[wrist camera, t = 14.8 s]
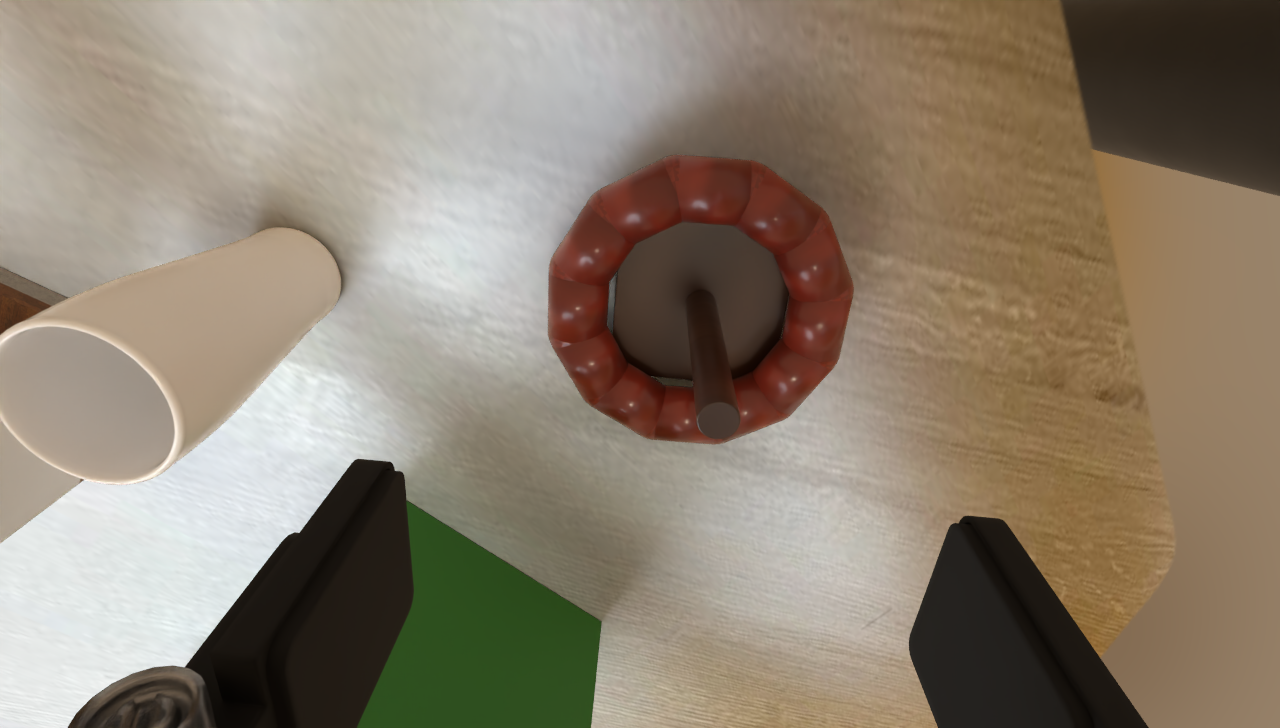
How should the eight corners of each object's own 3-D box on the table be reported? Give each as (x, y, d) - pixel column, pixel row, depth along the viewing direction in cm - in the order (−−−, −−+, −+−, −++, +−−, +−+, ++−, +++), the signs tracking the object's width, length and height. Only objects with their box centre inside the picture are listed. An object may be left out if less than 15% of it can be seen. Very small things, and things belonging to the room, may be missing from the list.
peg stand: (797, 221, 35) (871, 318, 22) (766, 375, 38) (815, 530, 26) (623, 203, 34) (603, 292, 22) (610, 360, 38) (587, 509, 26)
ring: (869, 165, 32) (889, 176, 29) (812, 433, 38) (823, 463, 36) (555, 140, 32) (545, 149, 29) (551, 413, 38) (542, 442, 36)
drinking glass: (257, 184, 35) (-2, 278, 21) (378, 255, 36) (208, 384, 22) (217, 288, 37) (-37, 430, 24) (331, 350, 39) (154, 517, 25)
